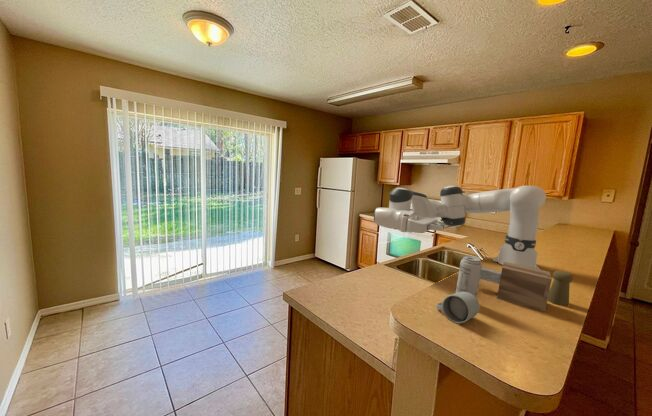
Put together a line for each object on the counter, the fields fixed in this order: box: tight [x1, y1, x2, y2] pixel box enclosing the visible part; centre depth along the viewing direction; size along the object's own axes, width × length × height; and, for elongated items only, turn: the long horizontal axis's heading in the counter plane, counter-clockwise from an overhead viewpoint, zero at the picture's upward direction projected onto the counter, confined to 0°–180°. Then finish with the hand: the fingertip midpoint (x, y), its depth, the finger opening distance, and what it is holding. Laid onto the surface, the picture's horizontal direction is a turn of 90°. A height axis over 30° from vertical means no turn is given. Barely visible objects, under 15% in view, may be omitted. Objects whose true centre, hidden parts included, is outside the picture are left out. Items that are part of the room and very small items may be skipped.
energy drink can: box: [455, 255, 483, 299], centre depth 86 cm, size 6×6×15 cm
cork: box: [547, 269, 574, 307], centre depth 93 cm, size 6×6×11 cm
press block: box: [496, 262, 553, 313], centre depth 92 cm, size 9×13×11 cm
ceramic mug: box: [436, 292, 481, 324], centre depth 78 cm, size 11×8×8 cm
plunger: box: [480, 266, 502, 285], centre depth 97 cm, size 5×13×5 cm, turn 53°
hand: (443, 227), depth 106 cm, fingers open, 2 cm apart
